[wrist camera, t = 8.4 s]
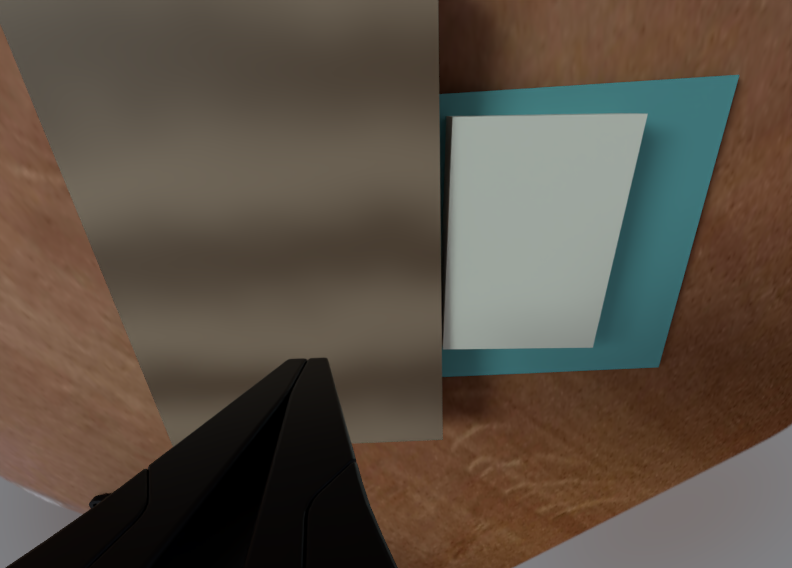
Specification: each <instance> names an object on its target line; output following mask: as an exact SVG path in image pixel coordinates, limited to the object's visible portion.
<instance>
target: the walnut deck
mask: <svg viewBox="0 0 792 568" xmlns="http://www.w3.org/2000/svg"><path fill="white" fill-rule="evenodd" d="M0 24H1V27H2V29H3V31H4V34H5V36H6V39H7V41H8V44H9V46H10V49H11V51H12V53H13V56H14V58H15V61H16V63H17V66H18V68H19V71H20V73H21V75H22V78H23V80H24V83H25V85H26V88H27V90H28V93H29V95H30V98H31V100H32V102H33V105H34V107H35V110H36V112H37V115H38V117H39V120H40V122H41V124H42V127H43V129H44V132H45V134H46V137H47V139H48V142H49V144H50V146H51V149H52V151H53V154H54V156H55V159H56V161H57V164H58V166H59V168H60V171H61V173H62V176H63V178H64V181H65V183H66V186H67V188H68V191H69V193H70V195H71V198H72V200H73V203H74V205H75V208H76V210H77V213H78V215H79V217H80V220H81V222H82V225H83V227H84V230H85V232H86V235H87V237H88V239H89V242H90V244H91V247H92V249H93V252H94V254H95V257H96V259H97V262H98V264H99V266H100V269H101V271H102V274H103V276H104V279H105V281H106V284H107V286H108V288H109V291H110V293H111V296H112V298H113V301H114V303H115V306H116V308H117V310H118V313H119V315H120V318H121V320H122V323H123V325H124V328H125V330H126V333H127V335H128V337H129V340H130V342H131V345H132V347H133V350H134V352H135V355H136V357H137V359H138V362H139V364H140V367H141V369H142V372H143V374H144V377H145V379H146V381H147V384H148V386H149V389H150V391H151V394H152V396H153V399H154V401H155V403H156V406H157V408H158V411H159V413H160V416H161V418H162V421H163V423H164V426H165V428H166V430H167V433H168V435H169V438H170V440H171V443H172V445H173V447H174V446H175V445H176V444H178V443H179V442H180V441H182V440H183V439H184V438H186V437H187V436H188V435H189V434H191V433H192V432H193V431H195V430H196V429H197V428H199V427H200V426H201V425H203V424H204V423H205V422H206V421H208V420H209V419H210V418H212V417H213V416H214V415H216V414H217V413H218V412H220V411H221V410H222V409H223V408H225V407H226V406H227V405H229V404H230V403H231V402H233V401H234V400H235V399H237V398H238V397H239V396H240V395H242V394H243V393H244V392H246V391H247V390H248V389H250V388H251V387H252V386H254V385H255V384H256V383H257V382H259V381H260V380H261V379H263V378H264V377H265V376H267V375H268V374H269V373H271V372H272V371H273V370H274V369H276V368H277V367H278V366H280V365H281V364H282V363H284V362H285V361H286V360H288V359H297V358H306V359H307V360H308V359H310V358H324V357H325V358H327V359H328V361H329V364H330V368H331V371H332V375H333V379H334V382H335V386H336V390H337V393H338V397H339V400H340V404H341V408H342V411H343V415H344V418H345V422H346V426H347V429H348V433H349V436H350V440H351V443H373V442H398V441H422V440H443V422H442V321H441V221H440V120H439V19H438V0H0Z"/></svg>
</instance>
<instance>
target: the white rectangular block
mask: <svg viewBox="0 0 792 568" xmlns="http://www.w3.org/2000/svg"><path fill="white" fill-rule="evenodd" d="M647 115H648V114H638V113H600V114H541V115H482V116H446V139H445V167H444V195H443V222H442V250H441V321H442V347H443V349H518V348H593V344H594V340H595V336H596V332H597V327H598V323H599V319H600V315H601V310H602V306H603V302H604V298H605V293H606V289H607V285H608V281H609V276H610V272H611V268H612V264H613V259H614V255H615V251H616V247H617V242H618V238H619V234H620V230H621V225H622V221H623V217H624V213H625V209H626V204H627V200H628V196H629V192H630V187H631V183H632V179H633V175H634V170H635V166H636V162H637V158H638V153H639V149H640V145H641V141H642V136H643V132H644V128H645V124H646V119H647Z"/></svg>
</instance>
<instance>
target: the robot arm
mask: <svg viewBox="0 0 792 568" xmlns="http://www.w3.org/2000/svg"><path fill="white" fill-rule="evenodd" d="M89 506H90V508H91V509H90V510H89V511H87V512H86V513H84V514H83V515H82V516H80V517H79V518H77V519H76V520H74V521H73V522H71V523H70V524H69V525H67V526H66V527H64V528H63V529H61V530H60V531H59V532H57V533H56V534H54V535H53V536H51V537H50V538H48V539H47V540H46V541H44V542H43V543H41V544H40V545H38V546H37V547H35V548H34V549H32V550H31V551H29V552H28V553H26V554H25V555H24V556H22V557H20V558H19V559H18V560H16V561H15V562H13V563H12V564H10V565H9V566H7V567H6V568H398V567H397V565H396V563H395V561H394V559H393V557H392V554H391V552H390V550H389V548H388V546H387V544H386V542H385V539H384V537H383V535H382V533H381V530H380V528H379V526H378V523H377V521H376V519H375V516H374V514H373V511H372V509H371V507H370V504H369V501H368V498H367V495H366V492H365V488H364V485H363V482H362V479H361V475H360V472H359V468H358V465H357V463H356V458H355V454H354V451H353V447H352V444H351V440H350V436H349V433H348V429H347V426H346V422H345V418H344V415H343V411H342V408H341V404H340V400H339V397H338V393H337V390H336V386H335V382H334V379H333V375H332V371H331V368H330V364H329V361H328V359H327V358H325V357H324V358H310V359H308V360H307V359H306V358H297V359H288V360H286V361H285V362H284V363H282V364H281V365H280V366H278V367H277V368H276V369H274V370H273V371H272V372H271V373H269V374H268V375H267V376H265V377H264V378H263V379H261V380H260V381H259V382H257V383H256V384H255V385H254V386H252V387H251V388H250V389H248V390H247V391H246V392H244V393H243V394H242V395H240V396H239V397H238V398H237V399H235V400H234V401H233V402H231V403H230V404H229V405H227V406H226V407H225V408H223V409H222V410H221V411H220V412H218V413H217V414H216V415H214V416H213V417H212V418H210V419H209V420H208V421H206V422H205V423H204V424H203V425H201V426H200V427H199V428H197V429H196V430H195V431H193V432H192V433H191V434H189V435H188V436H187V437H186V438H184V439H183V440H182V441H180V442H179V443H178V444H176V445H175V446H174V447H172V448H171V449H170V450H169V451H167V452H166V453H165V454H163V455H162V456H161V457H159V458H158V459H157V460H155V461H154V462H153V463H151V464H150V465H149V467H148V469H143V470H142V471H141V472H140V473H138V474H137V475H136V476H134V477H133V478H132V479H130V480H129V481H128V482H126V483H125V484H124V485H122V486H121V487H120V488H118V489H117V490H116V491H114V492H113V493H112V494H110V495H98V496H95V497H94V498H93V499H92V500H91V502H90V503H89Z"/></svg>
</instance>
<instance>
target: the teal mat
mask: <svg viewBox="0 0 792 568" xmlns="http://www.w3.org/2000/svg"><path fill="white" fill-rule="evenodd" d="M738 78H739V75H729V76H714V77H698V78H683V79H667V80H652V81H636V82H621V83H605V84H590V85H574V86H559V87H543V88H528V89H512V90H497V91H482V92H466V93H451V94H439V120H440V221H441V250H442V222H443V195H444V167H445V139H446V116H482V115H541V114H600V113H638V114H648V115H647V119H646V124H645V128H644V132H643V136H642V141H641V145H640V149H639V153H638V158H637V162H636V166H635V170H634V175H633V179H632V183H631V187H630V192H629V196H628V200H627V204H626V209H625V213H624V217H623V221H622V225H621V230H620V234H619V238H618V242H617V247H616V251H615V255H614V259H613V264H612V268H611V272H610V276H609V281H608V285H607V289H606V293H605V298H604V302H603V306H602V310H601V315H600V319H599V323H598V327H597V332H596V336H595V340H594V344H593V348H518V349H443V347H442V377H454V376H476V375H498V374H520V373H542V372H564V371H587V370H609V369H631V368H653V367H659V364H660V360H661V357H662V353H663V349H664V346H665V342H666V339H667V335H668V331H669V328H670V324H671V321H672V317H673V313H674V310H675V306H676V302H677V299H678V295H679V292H680V288H681V284H682V281H683V277H684V274H685V270H686V266H687V263H688V259H689V255H690V252H691V248H692V245H693V241H694V237H695V234H696V230H697V227H698V223H699V219H700V216H701V212H702V208H703V205H704V201H705V198H706V194H707V190H708V187H709V183H710V180H711V176H712V172H713V169H714V165H715V161H716V158H717V154H718V151H719V147H720V143H721V140H722V136H723V133H724V129H725V125H726V122H727V118H728V114H729V111H730V107H731V104H732V100H733V96H734V93H735V89H736V86H737V82H738Z"/></svg>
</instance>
